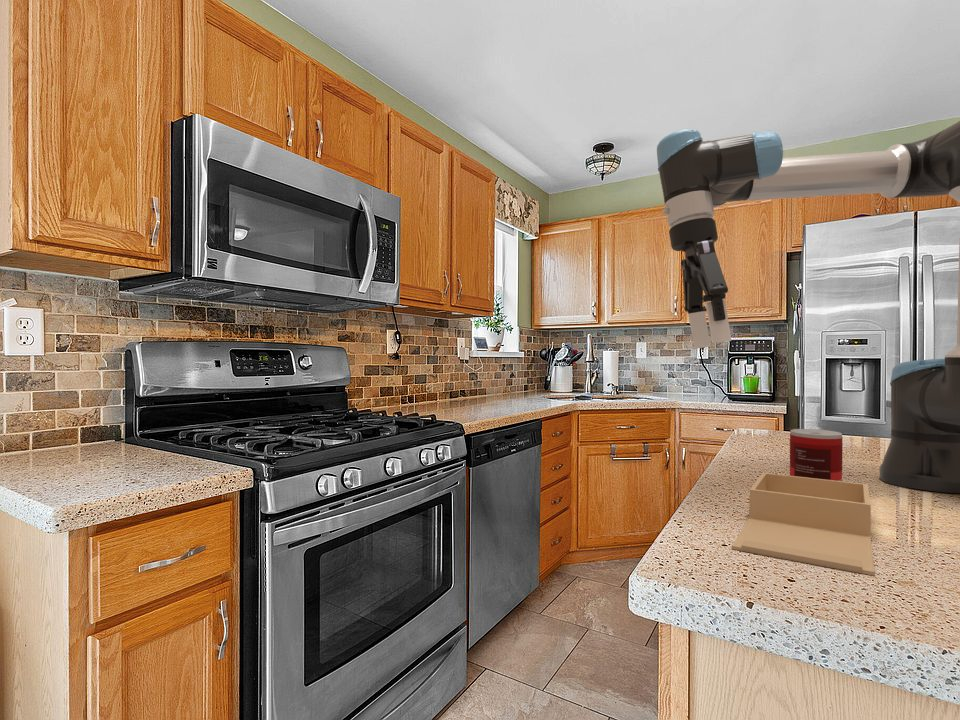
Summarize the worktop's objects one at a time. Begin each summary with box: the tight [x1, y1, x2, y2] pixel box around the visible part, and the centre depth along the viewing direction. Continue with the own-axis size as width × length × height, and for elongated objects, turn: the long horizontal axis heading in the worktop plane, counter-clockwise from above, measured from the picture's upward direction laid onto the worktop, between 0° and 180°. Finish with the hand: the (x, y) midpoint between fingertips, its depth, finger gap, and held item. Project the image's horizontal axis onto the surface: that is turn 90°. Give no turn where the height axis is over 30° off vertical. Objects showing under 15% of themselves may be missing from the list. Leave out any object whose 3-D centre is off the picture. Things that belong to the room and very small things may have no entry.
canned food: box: [789, 428, 844, 481], centre depth 93 cm, size 8×8×11 cm
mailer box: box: [731, 472, 876, 577], centre depth 74 cm, size 28×14×4 cm, turn 146°
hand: (711, 345), depth 92 cm, fingers open, 13 cm apart
